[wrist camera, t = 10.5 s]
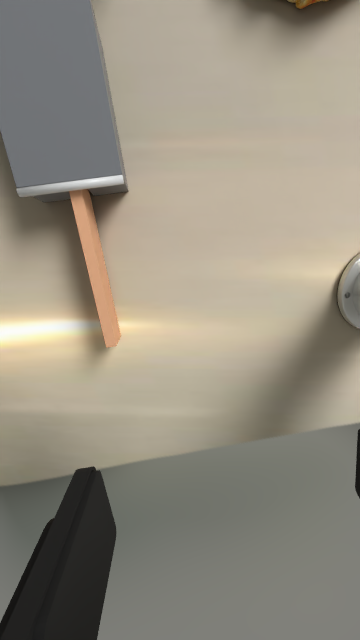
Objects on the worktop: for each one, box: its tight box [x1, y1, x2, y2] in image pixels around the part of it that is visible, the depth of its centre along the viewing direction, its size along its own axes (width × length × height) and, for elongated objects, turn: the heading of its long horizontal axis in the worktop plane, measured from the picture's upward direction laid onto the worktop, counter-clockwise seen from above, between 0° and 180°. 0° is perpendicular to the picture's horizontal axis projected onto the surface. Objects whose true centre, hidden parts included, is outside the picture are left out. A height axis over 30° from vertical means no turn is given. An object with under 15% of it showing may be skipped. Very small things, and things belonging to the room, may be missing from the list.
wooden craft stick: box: [69, 189, 121, 348], centre depth 27 cm, size 1×19×4 cm, turn 9°
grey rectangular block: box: [0, 0, 128, 202], centre depth 24 cm, size 10×15×6 cm
